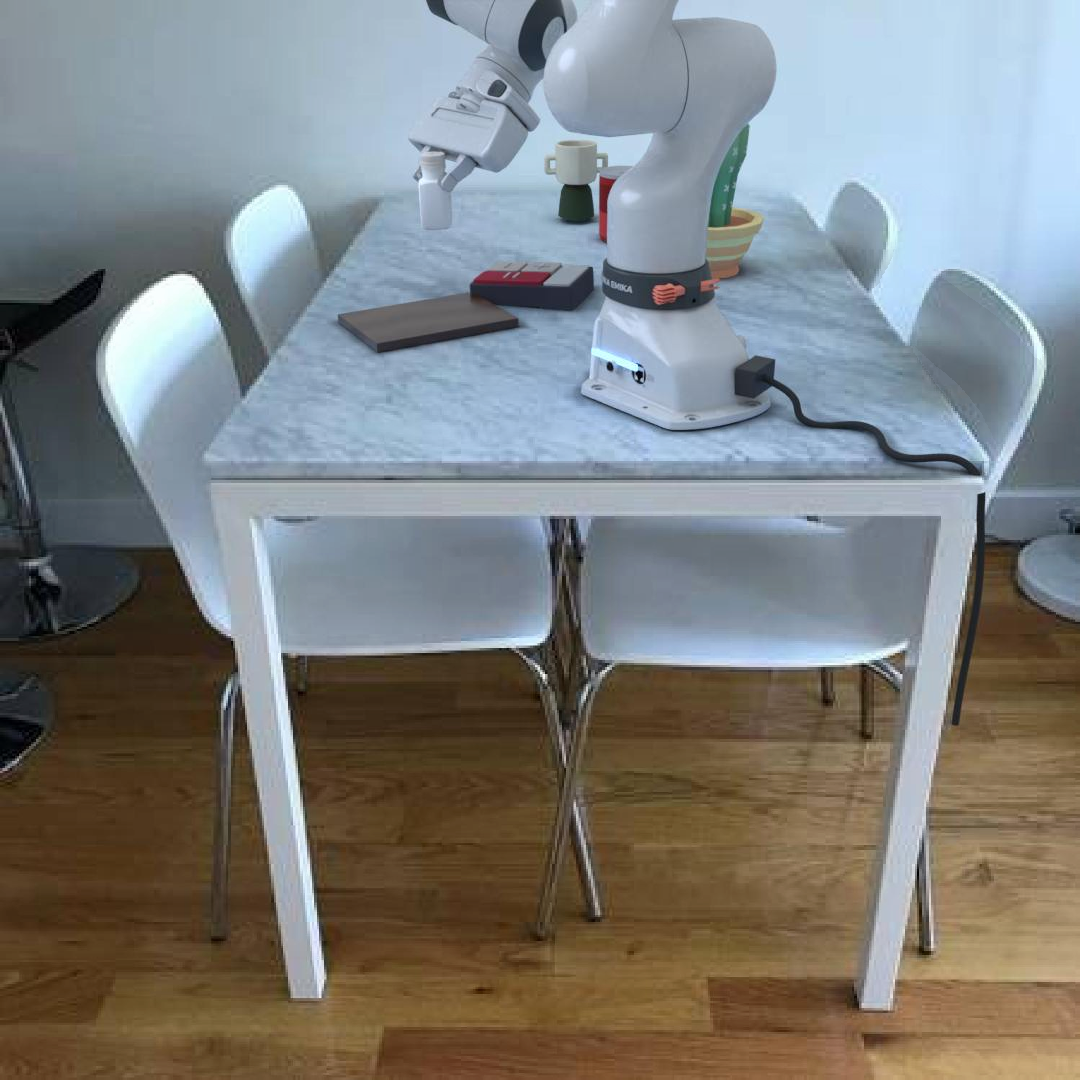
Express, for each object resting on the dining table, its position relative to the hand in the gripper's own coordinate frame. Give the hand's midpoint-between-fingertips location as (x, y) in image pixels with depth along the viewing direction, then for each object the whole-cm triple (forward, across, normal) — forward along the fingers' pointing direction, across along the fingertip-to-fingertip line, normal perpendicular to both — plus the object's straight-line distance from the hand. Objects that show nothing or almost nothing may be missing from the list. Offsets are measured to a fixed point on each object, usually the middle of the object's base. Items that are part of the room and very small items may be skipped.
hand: (430, 184), depth 161 cm
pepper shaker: (+4, 0, +5) cm, 6 cm away
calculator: (+2, +2, +23) cm, 23 cm away
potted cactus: (-18, +8, +42) cm, 47 cm away
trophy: (-21, -30, +44) cm, 57 cm away
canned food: (-19, -15, +43) cm, 50 cm away
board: (+15, +5, +9) cm, 18 cm away
